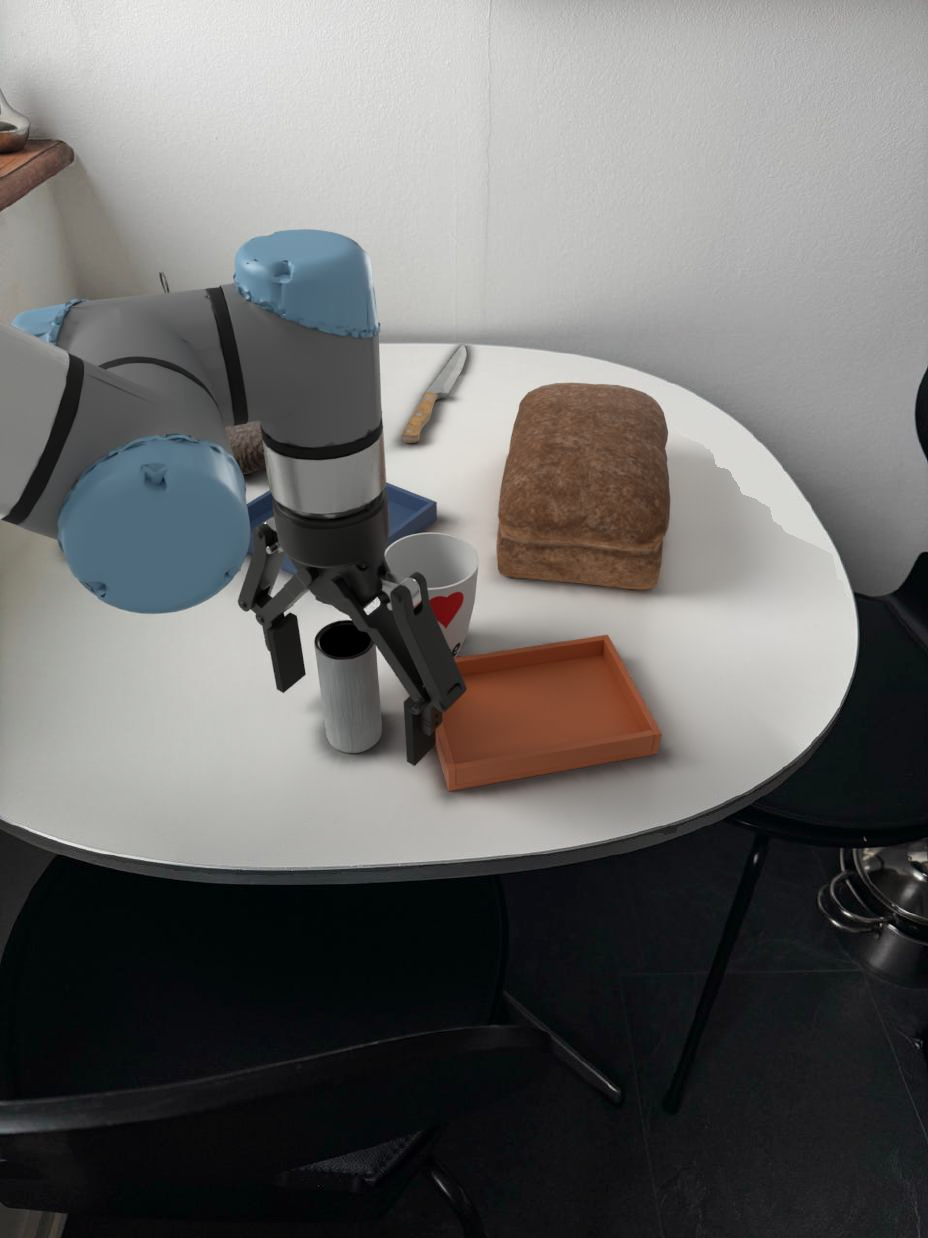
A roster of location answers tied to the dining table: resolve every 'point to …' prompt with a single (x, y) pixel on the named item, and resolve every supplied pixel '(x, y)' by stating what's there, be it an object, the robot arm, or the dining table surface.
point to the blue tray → (404, 516)
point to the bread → (585, 487)
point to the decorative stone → (247, 446)
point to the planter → (349, 686)
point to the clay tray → (543, 713)
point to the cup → (441, 578)
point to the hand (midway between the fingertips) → (353, 716)
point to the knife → (434, 396)
